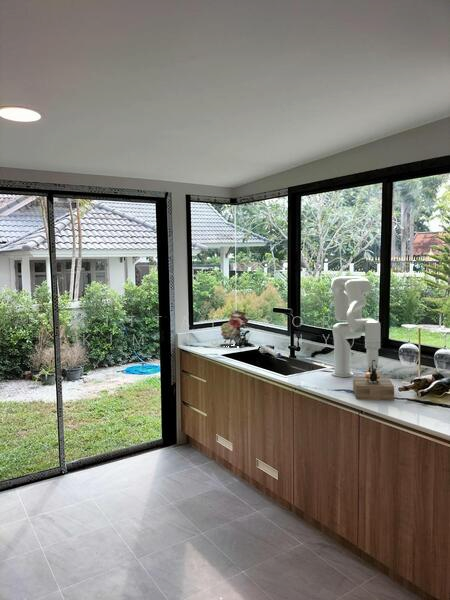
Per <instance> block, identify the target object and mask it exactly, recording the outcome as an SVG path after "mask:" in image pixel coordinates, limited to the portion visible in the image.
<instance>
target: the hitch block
mask: <svg viewBox="0 0 450 600" xmlns="http://www.w3.org/2000/svg"><path fill="white" fill-rule="evenodd" d="M352 385H353V386H352V390H353V393H354V396H355V400H366V401H367V400H369V401H370V400H372V401H373V400H374V401H376V400H377V401H395V386H394V384H393V381H392V380H391V379H390V377H389V376H380V378H379V379H377V382H369V379H368V378H366V377H365V376H364V375H363V376H362V375H360V376H358V375H356V376H355V375H353V376H352Z"/></svg>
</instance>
